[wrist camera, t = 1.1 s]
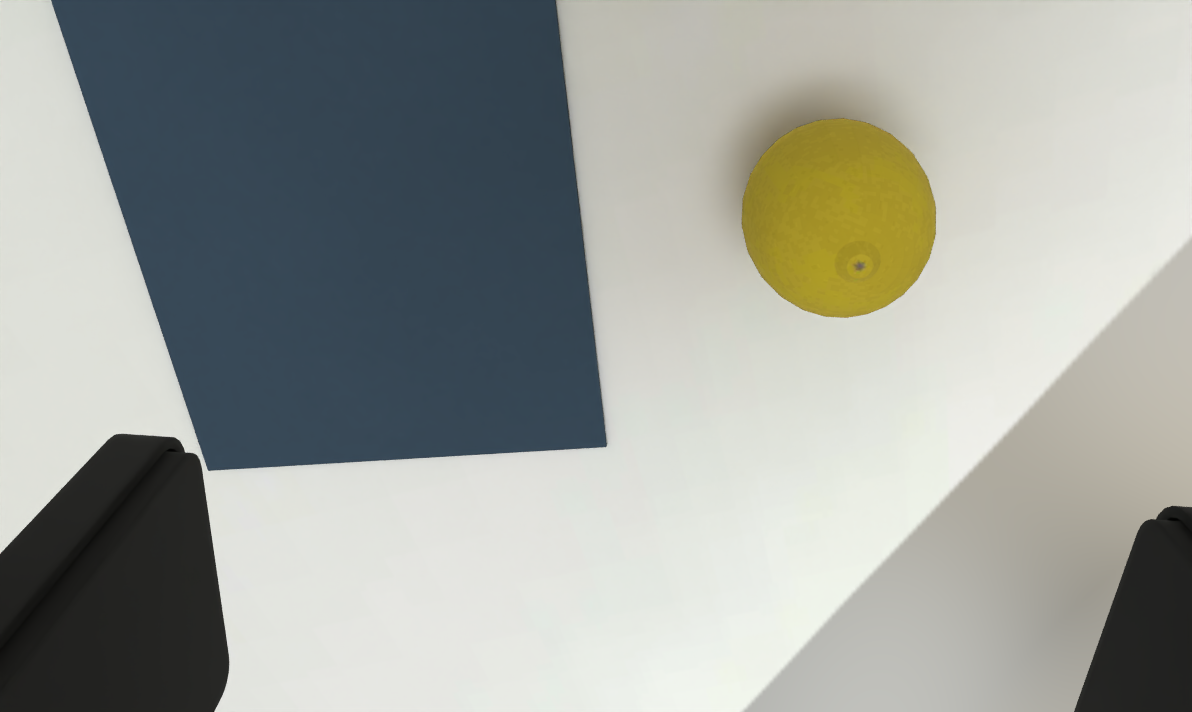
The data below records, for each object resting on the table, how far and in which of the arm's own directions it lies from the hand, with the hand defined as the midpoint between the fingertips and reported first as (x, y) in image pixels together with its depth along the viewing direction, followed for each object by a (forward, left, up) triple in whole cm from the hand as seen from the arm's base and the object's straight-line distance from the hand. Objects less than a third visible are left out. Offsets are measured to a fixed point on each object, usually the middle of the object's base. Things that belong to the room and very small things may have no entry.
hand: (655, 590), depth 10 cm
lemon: (+4, +5, -25) cm, 26 cm away
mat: (+4, -11, -25) cm, 27 cm away
